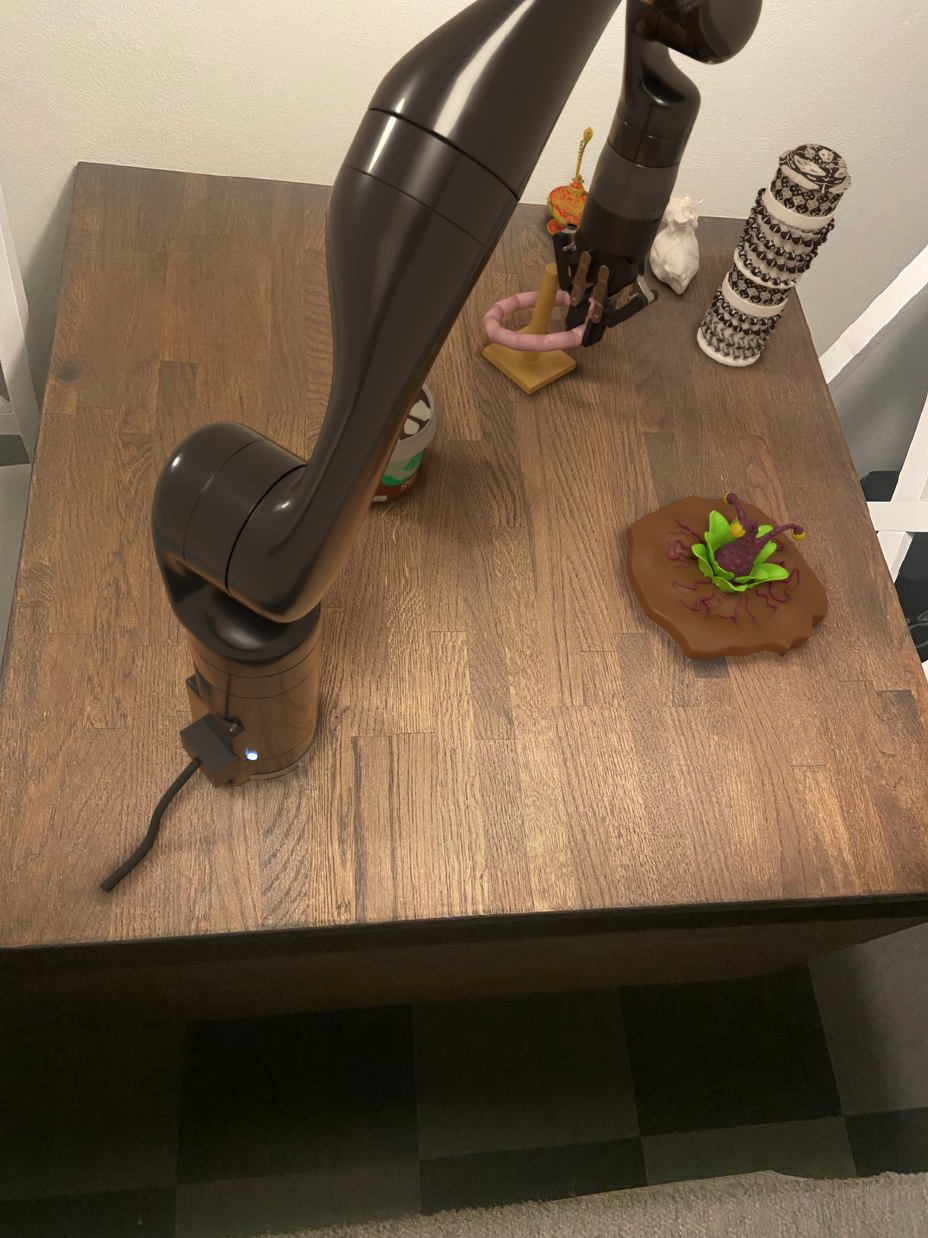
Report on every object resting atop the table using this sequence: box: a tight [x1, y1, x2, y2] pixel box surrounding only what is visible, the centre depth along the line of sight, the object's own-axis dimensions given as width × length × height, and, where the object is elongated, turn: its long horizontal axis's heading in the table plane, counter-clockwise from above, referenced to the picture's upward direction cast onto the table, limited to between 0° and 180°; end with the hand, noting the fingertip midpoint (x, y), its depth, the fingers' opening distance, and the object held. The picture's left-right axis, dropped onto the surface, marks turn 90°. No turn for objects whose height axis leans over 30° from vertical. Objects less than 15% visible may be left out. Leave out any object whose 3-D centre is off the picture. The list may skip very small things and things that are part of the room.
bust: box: [649, 195, 700, 295], centre depth 120 cm, size 12×8×11 cm
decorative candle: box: [696, 143, 852, 367], centre depth 107 cm, size 9×9×25 cm
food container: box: [371, 382, 438, 506], centre depth 92 cm, size 12×6×10 cm, turn 168°
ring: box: [481, 289, 595, 352], centre depth 104 cm, size 14×14×2 cm
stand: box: [481, 262, 577, 395], centre depth 104 cm, size 8×8×13 cm
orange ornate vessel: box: [546, 126, 594, 236], centre depth 120 cm, size 7×18×11 cm, turn 172°
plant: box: [626, 491, 829, 661], centre depth 90 cm, size 20×20×11 cm
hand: (581, 337), depth 101 cm, fingers closed on ring, 2 cm apart
